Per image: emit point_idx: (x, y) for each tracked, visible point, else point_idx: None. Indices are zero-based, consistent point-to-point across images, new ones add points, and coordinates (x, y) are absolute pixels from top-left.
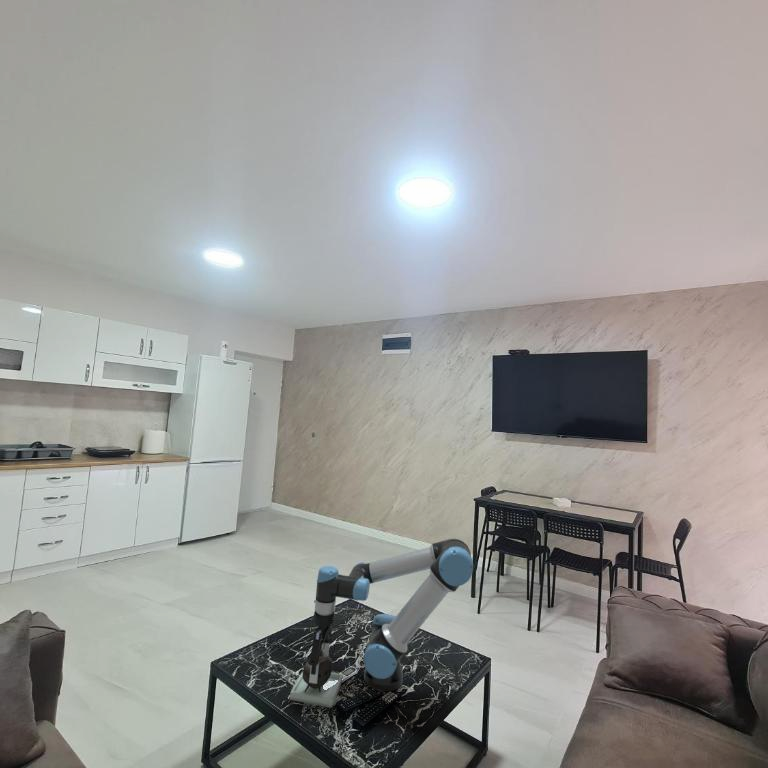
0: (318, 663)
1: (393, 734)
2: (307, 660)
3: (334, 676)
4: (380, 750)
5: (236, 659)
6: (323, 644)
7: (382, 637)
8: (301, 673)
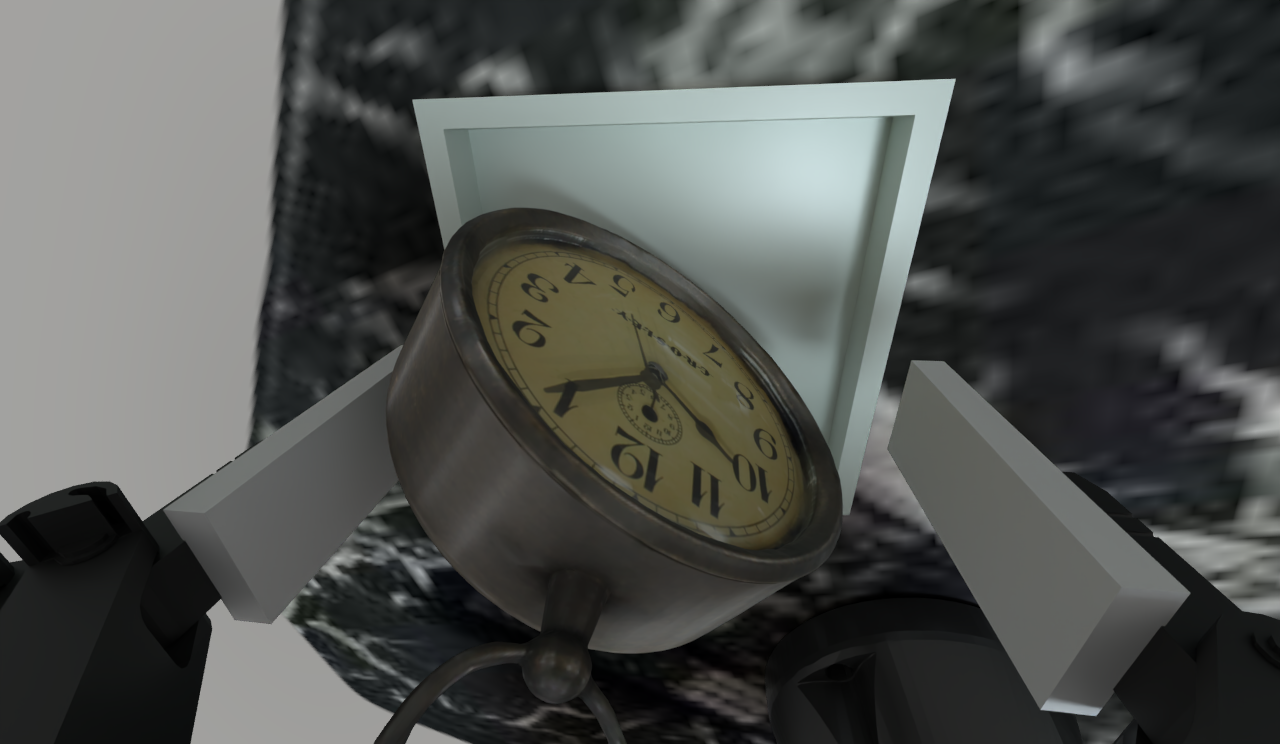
0: (257, 619)
1: (478, 697)
2: (459, 316)
3: (837, 441)
4: (371, 660)
5: None
6: (1080, 587)
7: None
8: (799, 86)
